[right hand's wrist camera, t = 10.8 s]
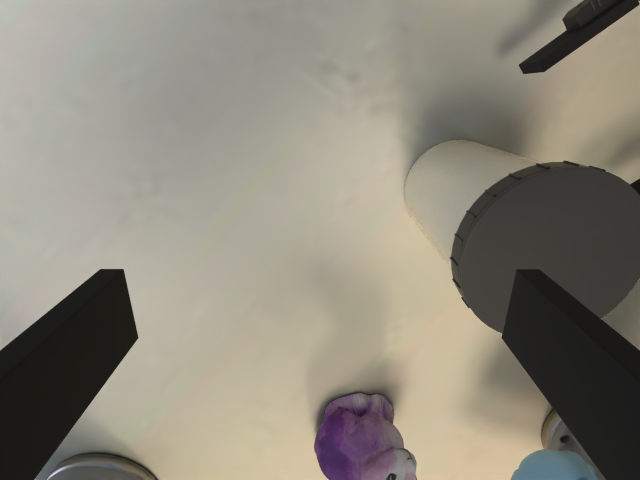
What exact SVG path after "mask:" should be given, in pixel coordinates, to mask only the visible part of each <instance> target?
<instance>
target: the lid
mask: <svg viewBox="0 0 640 480" xmlns="http://www.w3.org/2000/svg"><path fill="white" fill-rule="evenodd" d="M605 171H606V170H604V169H600V168H596V167H592V166H589V167H587V166H584V165H580V164H576V163H572V162H569V161H563V162H550V163H543V164H539V163H536V165H534V166H530V167H526V168H524V169H521V170H519V171H516V172H514V173H509V175H508V176H506V177H504V178H503V179H501V180H500V181H498V182H497V183H495V184H494V185H492V186H491V187H490V188H489V189H487V190H486V189H485V190H484V191H485V192H484V193H483V194H482V195H481V196H480V197H479V198H478V199H477V200H476V201H475V202H474V203H473V205H472V206H471V207H470V209H469V210H467V211H466V212H467V213H466V214H465V216H464V218H463V219H462V221H461V223H460V225H459V227H458V230H457V232H456V233H455V234H454V235H455V238H454V242H453V245H452V253H451V257H450V259H451V268H452V275H453V279H452V280H453V282H454V283H455V285H456V287H457V289H458V291H459V293H460V294H461V296H462V297H461V298H462V300H463V301H464V302H465V304H466V305H467V307H468V308H471V310H472V311H473V312H474V314H475V315H476V316H477V317H478V318H479V319H480V320H481V321H482V322H484V323H485V324H486V325H488V326H489V327H491V328H492V329H494V330H496V331H498V332H500V333H503V330H504V325H505V320H506V316H507V311H508V306H509V302H510V297H511V292H512V288H513V283H514V278H515V274H516V269H540V270H541V271H542V272H544V273H545V274H546V275H547V276H548V277H550V278H551V279H552V280H553V281H555V282H556V283H557V284H558V285H559V286H561V287H562V288H563V289H564V290H566V291H567V292H568V293H569V294H571V295H572V296H573V297H574V298H575V299H577V300H578V301H579V302H580V303H582V304H583V305H584V306H585V307H587V308H588V309H589V310H590V311H591V312H593V313H594V314H595V315H596V316H598V317H599V318H602V317H603V316H605V315H606V314H607V313H609V312H610V311H611V310H612V309H613V308H615V307H616V306H617V305H618V304H619V303H620V302H621V301H622V300H623V299H624V298H625V297H626V296H627V294H628V293H629V292H630V291H631V289H632V288H633V287H634V285H635V284H636V282H637V281H638V279H639V277H640V196H639V194H638V193H637V191H635V190H634V189H633V188H632V187H631V186H630V185H629V184H628V183H627V182H625V181H624V180H622V179H621V178H619V177H617V176H615V175H613V174H611V173H609V172H605Z"/></svg>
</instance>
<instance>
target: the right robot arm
mask: <svg viewBox="0 0 640 480" xmlns="http://www.w3.org/2000/svg"><path fill="white" fill-rule="evenodd" d="M137 339H138V334H137V330H136V325H135V320H134V316H133V311H132V306H131V302H130V297H129V292H128V288H127V283H126V278H125V274H124V269H100V270H99V271H98V272H96V273H95V274H94V275H93V276H92V277H90V278H89V279H88V280H87V281H85V282H84V283H83V284H82V285H81V286H79V287H78V288H77V289H76V290H74V291H73V292H72V293H71V294H69V295H68V296H67V297H66V298H65V299H63V300H62V301H61V302H60V303H58V304H57V305H56V306H55V307H53V308H52V309H51V310H50V311H49V312H47V313H46V314H45V315H44V316H42V317H41V318H40V319H39V320H37V321H36V322H35V323H34V324H33V325H31V326H30V327H29V328H28V329H26V330H25V331H24V332H23V333H21V334H20V335H19V336H18V337H17V338H15V339H14V340H13V341H12V342H10V343H9V344H8V345H7V346H5V347H4V348H3V349H2V350H1V351H0V480H34V479H35V478H36V476H37V475H38V474H39V472H40V471H41V470H42V468H43V467H44V465H45V464H46V463H47V461H48V460H49V459H50V457H51V456H52V455H53V453H54V452H55V451H56V449H57V448H58V446H59V445H60V444H61V442H62V441H63V440H64V438H65V437H66V436H67V434H68V433H69V431H70V430H71V429H72V427H73V426H74V425H75V423H76V422H77V421H78V419H79V418H80V417H81V415H82V414H83V412H84V411H85V410H86V408H87V407H88V406H89V404H90V403H91V402H92V400H93V399H94V397H95V396H96V395H97V393H98V392H99V391H100V389H101V388H102V387H103V385H104V384H105V383H106V381H107V380H108V378H109V377H110V376H111V374H112V373H113V372H114V370H115V369H116V368H117V366H118V365H119V363H120V362H121V361H122V359H123V358H124V357H125V355H126V354H127V353H128V351H129V350H130V349H131V347H132V346H133V344H134V343H135V342H136V340H137ZM502 339H503V340H504V342H505V343H506V344H507V346H508V347H509V349H510V350H511V351H512V353H513V354H514V355H515V357H516V358H517V359H518V361H519V362H520V363H521V365H522V366H523V368H524V369H525V370H526V372H527V373H528V374H529V376H530V377H531V378H532V380H533V381H534V383H535V384H536V385H537V387H538V388H539V389H540V391H541V392H542V393H543V395H544V396H545V397H546V399H547V400H548V402H549V403H550V404H551V406H552V407H553V408H554V410H555V411H556V412H557V414H558V415H559V417H560V418H561V419H562V421H563V422H564V423H565V425H566V426H567V427H568V429H569V430H570V431H571V433H572V434H573V436H574V437H575V438H576V440H577V441H578V442H579V444H580V445H581V446H582V448H583V449H584V451H585V452H586V453H587V455H588V456H589V457H590V459H591V460H592V461H593V463H594V464H595V465H596V467H597V468H598V470H599V471H600V472H601V474H602V475H603V476H604V478H605V479H606V480H640V351H639V350H638V349H637V348H636V347H635V346H633V345H632V344H631V343H630V342H628V341H627V340H626V339H625V338H623V337H622V336H621V335H620V334H619V333H617V332H616V331H615V330H614V329H612V328H611V327H610V326H609V325H607V324H606V323H605V322H604V321H603V320H601V319H600V318H599V317H598V316H596V315H595V314H594V313H593V312H591V311H590V310H589V309H588V308H587V307H585V306H584V305H583V304H582V303H580V302H579V301H578V300H577V299H575V298H574V297H573V296H572V295H571V294H569V293H568V292H567V291H566V290H564V289H563V288H562V287H561V286H559V285H558V284H557V283H556V282H555V281H553V280H552V279H551V278H550V277H548V276H547V275H546V274H545V273H544V272H542V271H541V270H540V269H516V274H515V278H514V283H513V288H512V292H511V297H510V302H509V306H508V311H507V316H506V320H505V325H504V330H503V334H502ZM47 480H156V479H155V478H154V477H153V476H152V475H151V474H150V473H149V472H148V471H147V470H145V469H144V468H143V467H141V466H139V465H138V464H136V463H134V462H132V461H129V460H127V459H124V458H121V457H118V456H113V455H107V454H83V455H78V456H74V457H72V458H69V459H67V460H65V461H63V462H61V463H60V464H59V465H58V466H57V467H55V469H54V470H53V471H52V473H51V474H50V475H49V477H48V478H47Z"/></svg>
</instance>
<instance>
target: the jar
mask: <svg viewBox="0 0 640 480" xmlns="http://www.w3.org/2000/svg"><path fill="white" fill-rule="evenodd" d="M536 163H539V164H543V162H539V161H536V160H533V159H529V158H526V157H523V156H519V155H516V154H513V153H509V152H506V151H503V150H499V149H496V148H493V147H489V146H486V145H483V144H479V143H476V142H473V141H469V140H450V141H446V142H443V143H440V144H438V145H435V146H434V147H432V148H430V149H429V150H427V151H426V152H425V153H424V154H422V155H421V156H420V157H419V158H418V160H417V161H416V162H415V163H414V165H413V166H412V168H411V169H410V171H409V173H408V176H407V179H406V182H405V187H404V201H405V206H406V209H407V211H408V213H409V215H410V217H411V218H412V220H413V221H414V222H415V224H416V225H417V226H418V228H419V229H420V230H421V232H422V233H423V234H424V236H425V237H426V238H427V239H428V241H429V242H430V243H431V245H432V246H433V247H434V249H435V250H436V251H437V252H438V254H439V255H440V256H441V258H442V259H443V260H444V262H445V263H446V264H447V265H448V267H449V268H450V269H451V271H452V268H451V259H450V257H451V253H452V245H453V242H454V238H455V235H454V234H455V233H456V232H457V230H458V227H459V225H460V223H461V221H462V219H463V218H464V216H465V214H466V213H467V212H466V211H467V210H469V209H470V207H471V206H472V205H473V203H474V202H475V201H476V200H477V199H478V198H479V197H480V196H481V195H482V194H483V193H484V192H485V191H484V190H485V189H486V190H487V189H489V188H490V187H491V186H492V185H494V184H495V183H497V182H498V181H500V180H501V179H503V178H504V177H506V176H508V175H509V173H514V172H516V171H519V170H521V169H524V168H526V167H530V166H534V165H536Z"/></svg>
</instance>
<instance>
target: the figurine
mask: <svg viewBox="0 0 640 480" xmlns="http://www.w3.org/2000/svg"><path fill="white" fill-rule="evenodd" d="M393 419H394V409H393V406H392V405H391V404H390V403H389V402H388V400H387V399H386V398H385V397H384V396H382V395H379V394H375V395H365V394H363V393H357V394H351V395H347V396H345V397H341V398H339V399H336V400H334V401H332V402H330V403H329V405H327V407H326V409H325V415H324V420H323V423H322V424H321V426H320V428H319V430H318V432H317V435H316V439H315V443H314V450H315V453H316V455H317V459H318V462H319V465H320V468H321V470H322V472H323V474H324V475H325V476H326V477H327V478H328V479H329V480H417V478H416V475H415V473H416V460H415V457H414V455H413V454H412V453H410V452H409V451H408V450H407V449H404V444H403V439H402V436H401V434H400V433H399V431H398V429H397V428H396V427H395V426H394V425H393Z"/></svg>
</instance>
